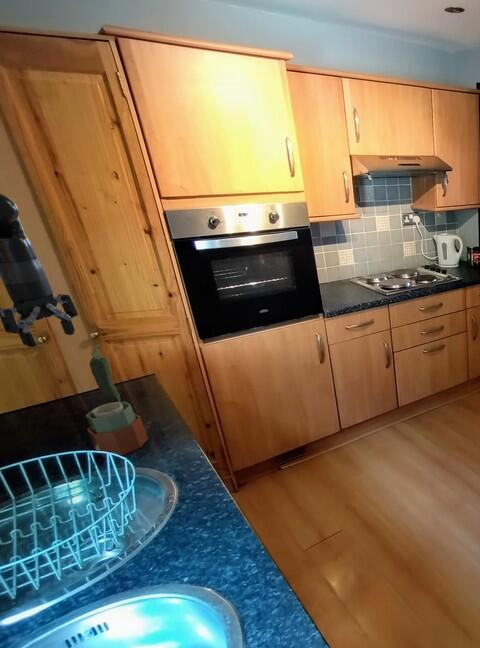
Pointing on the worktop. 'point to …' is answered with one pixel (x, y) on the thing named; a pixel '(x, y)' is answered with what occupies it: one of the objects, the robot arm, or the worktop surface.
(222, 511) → the worktop surface
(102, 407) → the cup
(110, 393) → the vegetable
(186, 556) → the worktop surface
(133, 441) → the cup stack
